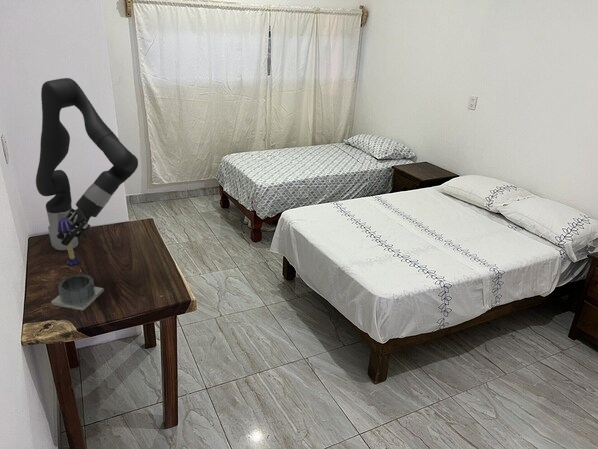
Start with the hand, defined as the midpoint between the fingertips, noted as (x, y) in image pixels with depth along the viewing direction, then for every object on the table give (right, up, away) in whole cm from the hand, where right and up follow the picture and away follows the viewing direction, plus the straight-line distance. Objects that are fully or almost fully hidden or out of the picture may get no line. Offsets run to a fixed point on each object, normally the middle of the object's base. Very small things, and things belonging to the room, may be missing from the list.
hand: (61, 241), depth 141 cm
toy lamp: (+1, -8, +5) cm, 10 cm away
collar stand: (0, -21, +11) cm, 23 cm away
